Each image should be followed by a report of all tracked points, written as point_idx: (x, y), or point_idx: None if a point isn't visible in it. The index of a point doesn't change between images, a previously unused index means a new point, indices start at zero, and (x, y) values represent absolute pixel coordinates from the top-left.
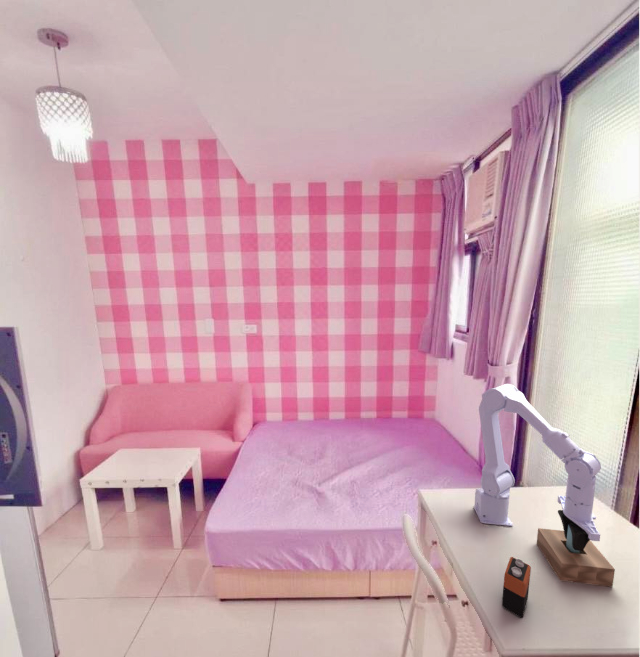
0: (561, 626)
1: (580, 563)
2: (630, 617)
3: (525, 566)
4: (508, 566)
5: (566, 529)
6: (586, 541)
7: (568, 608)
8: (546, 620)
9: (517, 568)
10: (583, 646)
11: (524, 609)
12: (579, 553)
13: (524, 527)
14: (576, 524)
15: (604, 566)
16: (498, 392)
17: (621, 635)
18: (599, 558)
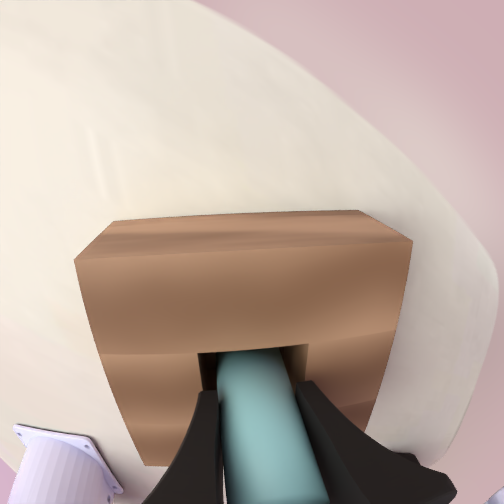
0: (442, 404)
1: (367, 390)
2: (460, 231)
3: None
4: None
5: (221, 482)
6: (355, 437)
7: (416, 387)
8: (426, 424)
9: None
10: (477, 376)
11: (412, 460)
12: (278, 358)
13: (71, 404)
14: (218, 498)
15: (395, 291)
16: None
17: (486, 293)
18: (337, 287)
